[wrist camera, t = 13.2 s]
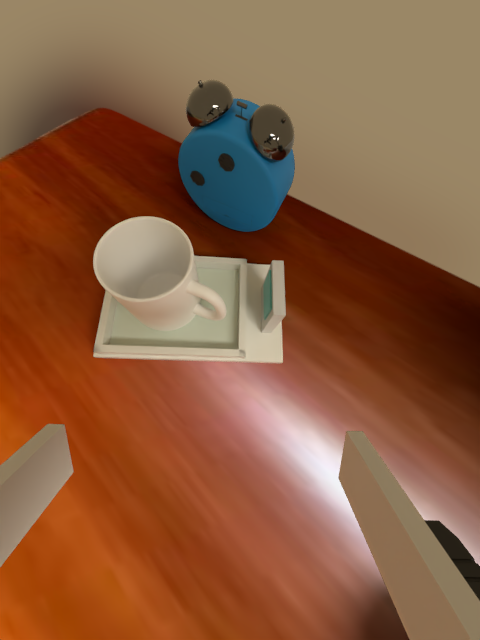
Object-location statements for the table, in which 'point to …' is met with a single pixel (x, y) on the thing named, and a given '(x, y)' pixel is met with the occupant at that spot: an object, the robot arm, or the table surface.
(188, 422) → the table surface
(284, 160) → the alarm clock
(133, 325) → the dock
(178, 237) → the cup
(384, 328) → the table surface
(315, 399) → the table surface
